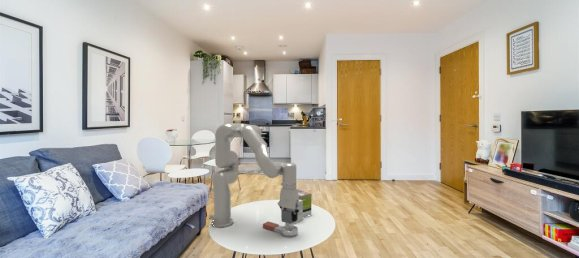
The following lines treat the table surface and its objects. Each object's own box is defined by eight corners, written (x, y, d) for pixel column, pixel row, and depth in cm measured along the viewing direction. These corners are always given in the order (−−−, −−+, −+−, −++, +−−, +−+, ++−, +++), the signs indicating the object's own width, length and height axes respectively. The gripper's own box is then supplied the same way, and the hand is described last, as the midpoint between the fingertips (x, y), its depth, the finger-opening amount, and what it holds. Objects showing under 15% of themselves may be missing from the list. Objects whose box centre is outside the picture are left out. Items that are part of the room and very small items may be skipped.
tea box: (285, 212, 175) (285, 190, 175) (297, 209, 181) (297, 188, 181) (300, 219, 163) (300, 195, 163) (312, 215, 169) (312, 192, 169)
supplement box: (285, 220, 160) (285, 200, 160) (294, 217, 166) (294, 197, 166) (294, 223, 155) (294, 202, 155) (303, 220, 161) (303, 200, 160)
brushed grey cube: (281, 221, 140) (281, 210, 140) (288, 218, 145) (288, 207, 145) (290, 224, 137) (290, 212, 137) (297, 220, 142) (297, 209, 142)
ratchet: (301, 233, 142) (301, 221, 142) (291, 239, 135) (291, 226, 135) (270, 224, 155) (270, 213, 155) (260, 229, 148) (260, 217, 147)
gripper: (272, 185, 143) (272, 218, 143) (298, 190, 133) (299, 225, 133) (280, 182, 149) (281, 214, 149) (306, 187, 139) (306, 220, 139)
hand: (289, 219), depth 141 cm, fingers closed on brushed grey cube, 6 cm apart
